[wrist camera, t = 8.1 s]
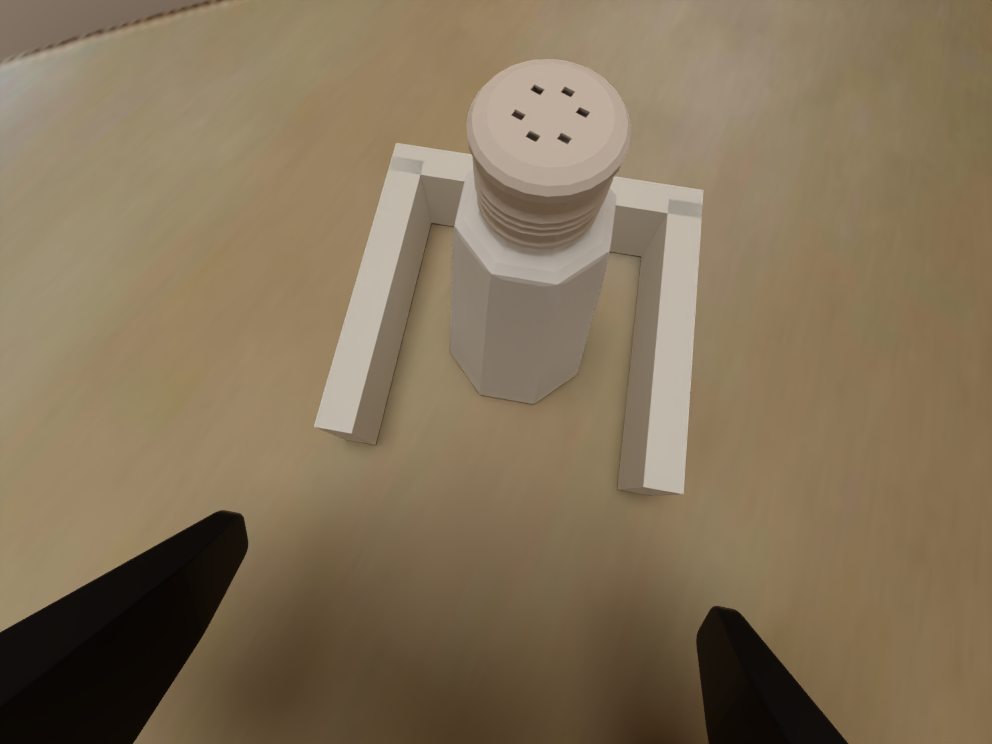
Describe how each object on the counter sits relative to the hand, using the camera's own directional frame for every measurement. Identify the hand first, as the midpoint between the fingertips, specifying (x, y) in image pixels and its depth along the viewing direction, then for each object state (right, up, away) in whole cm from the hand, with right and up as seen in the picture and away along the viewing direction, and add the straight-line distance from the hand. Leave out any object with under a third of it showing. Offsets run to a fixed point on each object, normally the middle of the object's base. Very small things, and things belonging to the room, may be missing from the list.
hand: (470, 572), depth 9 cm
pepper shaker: (+1, +5, +10) cm, 11 cm away
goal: (+1, +5, +9) cm, 11 cm away
